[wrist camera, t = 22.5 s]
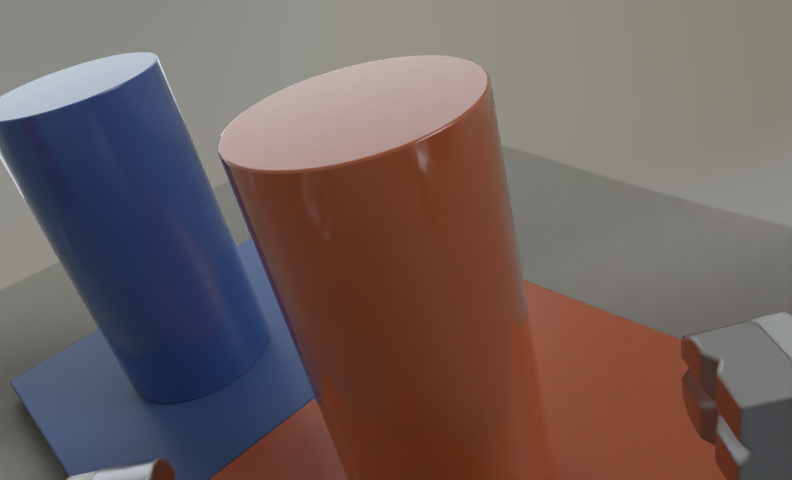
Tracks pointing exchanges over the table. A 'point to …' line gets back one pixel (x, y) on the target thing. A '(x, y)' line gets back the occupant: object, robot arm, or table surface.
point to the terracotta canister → (397, 266)
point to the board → (305, 427)
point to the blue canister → (135, 223)
